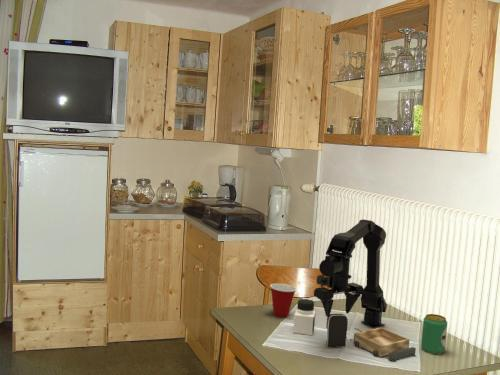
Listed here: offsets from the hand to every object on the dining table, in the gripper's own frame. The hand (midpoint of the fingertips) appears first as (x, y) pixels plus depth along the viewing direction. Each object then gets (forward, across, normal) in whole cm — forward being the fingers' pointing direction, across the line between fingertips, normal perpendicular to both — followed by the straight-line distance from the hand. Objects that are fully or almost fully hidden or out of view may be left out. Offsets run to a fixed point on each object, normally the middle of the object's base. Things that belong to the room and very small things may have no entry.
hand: (337, 315), depth 193 cm
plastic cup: (+11, -2, -34) cm, 36 cm away
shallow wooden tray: (+11, -14, +8) cm, 20 cm away
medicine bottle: (+11, +1, -16) cm, 20 cm away
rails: (+11, -14, +5) cm, 18 cm away
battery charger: (+11, 0, 0) cm, 11 cm away
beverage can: (+11, -29, +19) cm, 37 cm away
